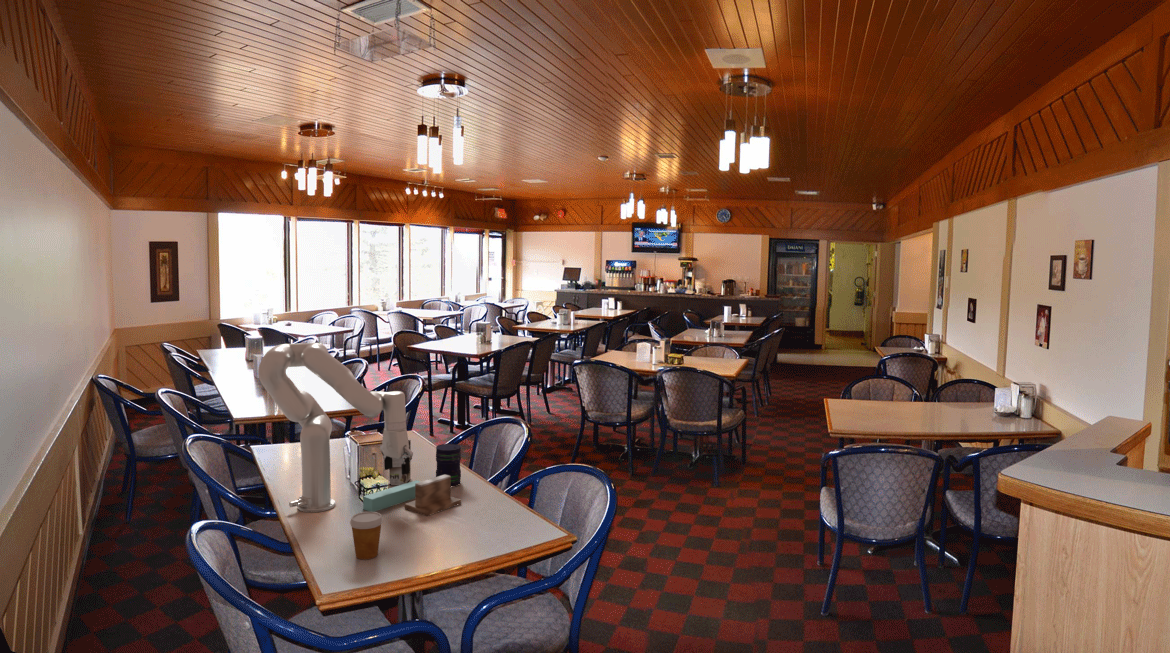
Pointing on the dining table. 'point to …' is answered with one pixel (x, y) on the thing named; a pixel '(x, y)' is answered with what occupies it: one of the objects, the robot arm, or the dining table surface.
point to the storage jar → (449, 462)
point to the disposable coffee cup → (366, 534)
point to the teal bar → (389, 497)
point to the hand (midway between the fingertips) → (397, 471)
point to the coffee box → (399, 471)
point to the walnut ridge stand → (433, 496)
